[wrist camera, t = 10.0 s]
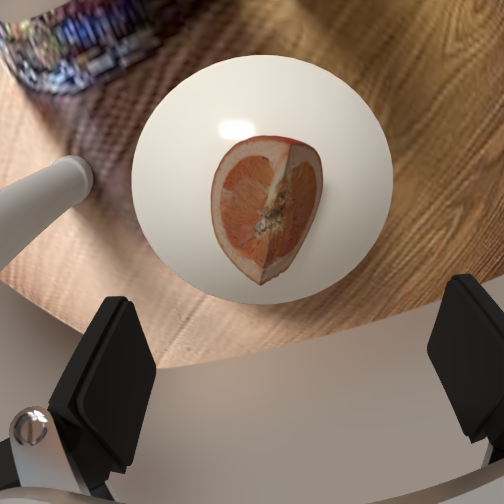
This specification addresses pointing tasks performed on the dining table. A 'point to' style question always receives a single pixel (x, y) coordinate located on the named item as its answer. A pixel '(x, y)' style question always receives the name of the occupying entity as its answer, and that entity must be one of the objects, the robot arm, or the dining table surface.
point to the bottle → (40, 202)
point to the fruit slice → (265, 203)
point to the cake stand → (241, 128)
